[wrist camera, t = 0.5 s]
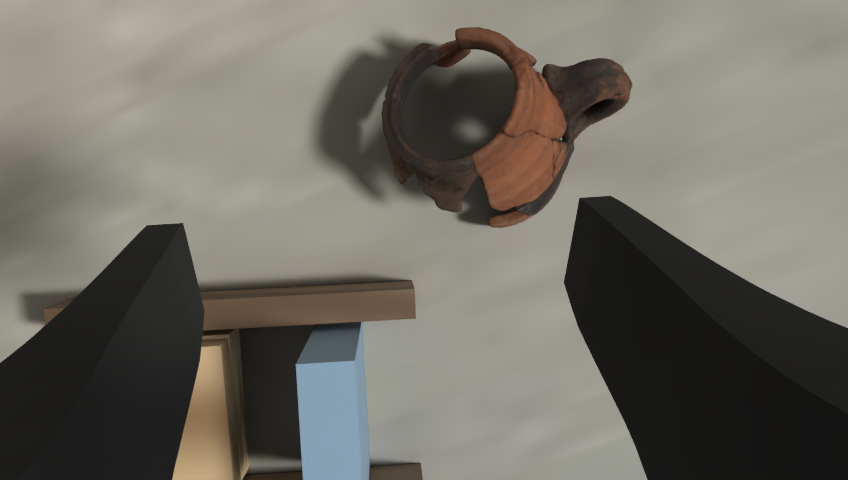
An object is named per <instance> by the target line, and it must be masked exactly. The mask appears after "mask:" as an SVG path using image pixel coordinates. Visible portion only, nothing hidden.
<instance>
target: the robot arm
mask: <svg viewBox="0 0 848 480" xmlns="http://www.w3.org/2000/svg"><path fill="white" fill-rule="evenodd" d="M564 284H565V287H566V290H567V294H568V297H569V300H570V303H571V307H572V310H573V313H574V316H575V318H576V321H577V324H578V327H579V329H580V331H581V334H582V336H583V338H584V340H585V342H586V344H587V346H588V348H589V350H590V352H591V354H592V356H593V358H594V361H595V363H596V365H597V367H598V369H599V371H600V373H601V375H602V377H603V379H604V381H605V383H606V385H607V387H608V389H609V391H610V393H611V395H612V397H613V399H614V401H615V403H616V405H617V407H618V409H619V411H620V413H621V415H622V417H623V419H624V421H625V423H626V425H627V428H628V430H629V432H630V435H631V437H632V439H633V441H634V444H635V446H636V449H637V452H638V454H639V457H640V460H641V463H642V465H643V468H644V471H645V474H646V476H647V479H648V480H848V328H846V327H843V326H841V325H838V324H836V323H833V322H831V321H828V320H826V319H824V318H822V317H819V316H817V315H815V314H812V313H810V312H808V311H806V310H804V309H802V308H800V307H798V306H795V305H793V304H791V303H789V302H787V301H785V300H783V299H781V298H779V297H777V296H775V295H773V294H771V293H769V292H767V291H765V290H763V289H761V288H759V287H757V286H755V285H754V284H752V283H750V282H748V281H746V280H745V279H743V278H741V277H739V276H738V275H736V274H734V273H732V272H731V271H729V270H727V269H726V268H724V267H722V266H720V265H719V264H717V263H715V262H714V261H712V260H710V259H709V258H707V257H706V256H704V255H702V254H701V253H699V252H697V251H696V250H694V249H693V248H691V247H690V246H688V245H687V244H685V243H683V242H682V241H680V240H679V239H677V238H676V237H674V236H673V235H671V234H670V233H668V232H667V231H665V230H664V229H662V228H661V227H659V226H658V225H656V224H655V223H653V222H652V221H650V220H649V219H647V218H646V217H644V216H643V215H641V214H639V213H638V212H636V211H635V210H633V209H632V208H630V207H629V206H627V205H625V204H624V203H622V202H621V201H619V200H617V199H615V198H613V197H612V196H604V197H588V198H580V199H579V204H578V210H577V215H576V221H575V226H574V231H573V237H572V242H571V247H570V253H569V258H568V264H567V269H566V274H565V280H564ZM204 312H205V311H204V307H203V302H202V298H201V294H200V290H199V286H198V282H197V278H196V274H195V270H194V266H193V262H192V258H191V254H190V250H189V246H188V241H187V237H186V233H185V229H184V225H183V223H179V224H163V225H148V226H146V227H145V228H144V229H143V230H142V231H141V232H140V233H139V234H138V235H137V236H136V237H135V238H134V239H133V240H132V241H131V242H130V243H129V244H128V245H127V246H126V247H125V248H124V249H123V250H122V251H121V253H120V254H119V255H118V256H117V257H116V258H115V259H114V260H113V261H112V262H111V263H110V264H109V265H108V266H107V267H106V268H105V269H104V270H103V271H102V272H101V273H100V274H99V275H98V276H97V277H96V278H95V279H94V280H93V281H92V282H91V283H90V284H89V285H88V286H87V287H86V288H85V289H84V290H83V291H82V292H81V293H80V294H79V295H78V296H77V297H76V298H75V299H74V300H73V301H72V302H71V303H70V304H68V305H67V306H66V307H65V308H64V309H63V310H62V311H61V312H60V313H59V314H57V315H56V316H55V317H54V318H53V319H52V320H51V321H50V322H49V323H48V324H46V325H45V326H44V327H43V328H42V329H41V330H40V331H39V332H38V333H36V334H35V335H34V336H33V337H32V338H31V339H30V340H28V341H27V342H26V343H25V344H24V345H22V346H21V347H20V348H19V349H17V350H16V351H15V352H14V353H12V354H11V355H10V356H9V357H8V358H6V359H5V360H4V361H2V362H1V363H0V480H172V478H173V473H174V469H175V464H176V460H177V456H178V452H179V448H180V443H181V439H182V435H183V431H184V427H185V423H186V418H187V414H188V410H189V406H190V402H191V397H192V393H193V389H194V384H195V380H196V376H197V371H198V367H199V362H200V355H201V346H202V336H203V324H204Z"/></svg>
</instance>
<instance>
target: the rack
mask: <svg viewBox="0 0 848 480" xmlns="http://www.w3.org/2000/svg"><path fill="white" fill-rule="evenodd" d="M200 294H201V298H202V302H203V307H204V311H205V312H204V324H203V331H204V330H222V329H239V328H257V327H275V326H292V325H310V324H327V323H345V322H363V321H380V320H398V319H416V314H415V293H414V286H413V283H412V280H411V281H393V282H374V283H355V284H337V285H318V286H299V287H281V288H262V289H243V290H225V291H206V292H200ZM73 300H74V299H71V300H68V301H65V302H62V303H59V304H56V305H54V306H51V307H48V308H45V309H44V319H45V325H46V324H48V323H49V322H50V321H51V320H52V319H53V318H54V317H55V316H56V315H57V314H59V313H60V312H61V311H62V310H63V309H64V308H65V307H66V306H67V305H68V304H70V303H71V302H72V301H73ZM242 480H303V473H302V471H300V472H285V473H271V474H257V475H244V477H243V479H242ZM369 480H423V479H422V471H421V463H416V464H401V465H387V466H372V467H370V468H369Z"/></svg>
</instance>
